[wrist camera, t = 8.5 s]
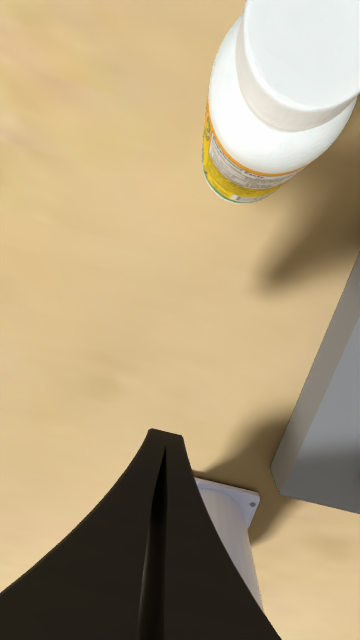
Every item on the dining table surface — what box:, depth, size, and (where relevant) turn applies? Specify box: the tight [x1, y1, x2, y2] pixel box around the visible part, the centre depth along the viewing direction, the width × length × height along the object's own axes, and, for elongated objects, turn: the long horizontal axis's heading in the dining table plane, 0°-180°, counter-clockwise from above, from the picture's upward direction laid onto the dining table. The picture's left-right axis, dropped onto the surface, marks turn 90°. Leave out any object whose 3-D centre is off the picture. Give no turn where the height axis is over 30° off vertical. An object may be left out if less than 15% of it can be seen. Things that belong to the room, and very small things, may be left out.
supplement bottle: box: [202, 0, 360, 204], centre depth 11 cm, size 5×5×10 cm
